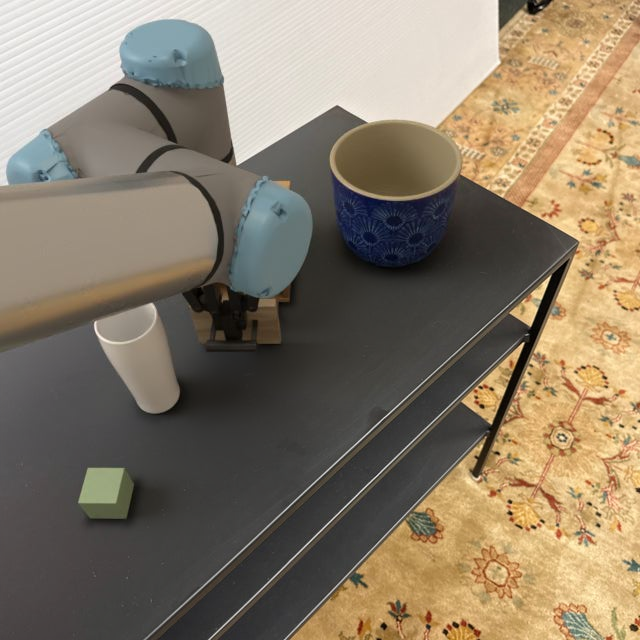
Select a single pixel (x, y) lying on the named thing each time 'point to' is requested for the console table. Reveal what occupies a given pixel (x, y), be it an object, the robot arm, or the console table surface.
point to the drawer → (258, 330)
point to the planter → (394, 189)
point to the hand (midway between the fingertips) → (235, 342)
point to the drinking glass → (141, 356)
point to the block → (106, 493)
